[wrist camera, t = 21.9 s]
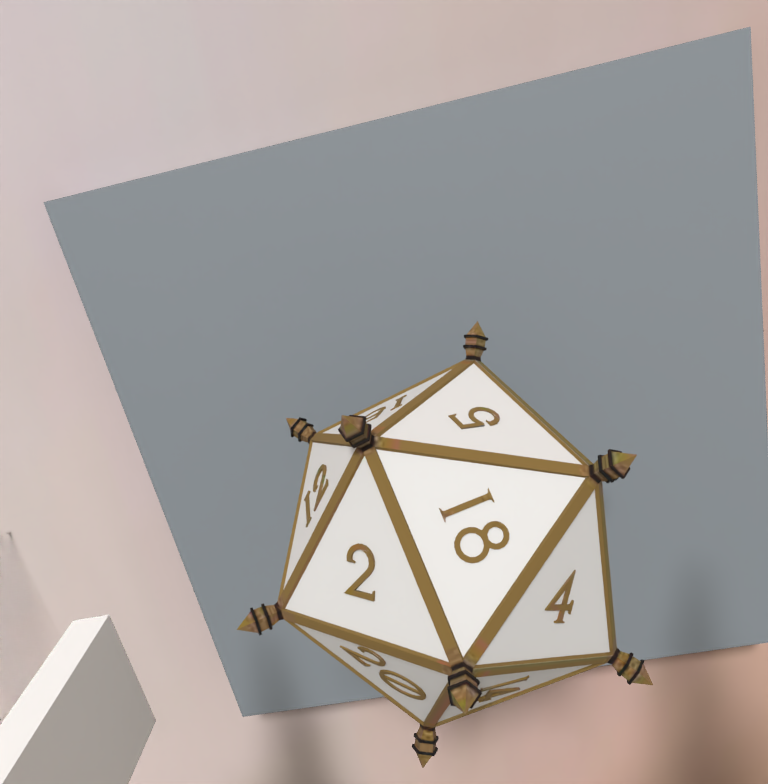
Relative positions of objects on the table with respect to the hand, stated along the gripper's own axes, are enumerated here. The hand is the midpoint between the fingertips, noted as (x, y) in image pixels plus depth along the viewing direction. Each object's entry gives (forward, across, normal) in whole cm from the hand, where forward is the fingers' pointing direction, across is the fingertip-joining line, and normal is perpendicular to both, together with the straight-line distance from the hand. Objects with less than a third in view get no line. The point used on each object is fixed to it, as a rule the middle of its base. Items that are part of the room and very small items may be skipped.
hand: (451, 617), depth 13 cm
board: (+9, 0, 0) cm, 9 cm away
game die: (+8, 0, 0) cm, 8 cm away
